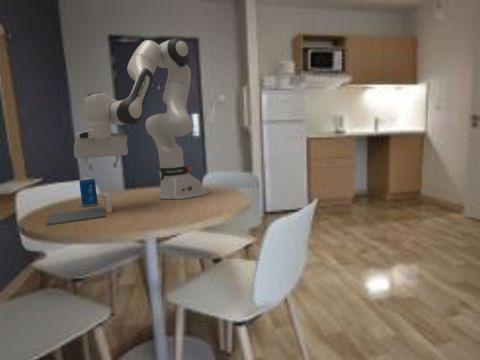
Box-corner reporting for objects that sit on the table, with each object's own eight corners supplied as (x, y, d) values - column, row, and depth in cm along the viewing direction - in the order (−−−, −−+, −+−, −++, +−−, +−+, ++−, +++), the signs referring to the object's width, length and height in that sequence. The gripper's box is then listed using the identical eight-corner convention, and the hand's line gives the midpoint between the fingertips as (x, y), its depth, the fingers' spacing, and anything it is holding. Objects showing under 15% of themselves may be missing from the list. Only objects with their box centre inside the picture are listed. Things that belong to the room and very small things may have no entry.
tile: (109, 208, 152) (108, 192, 151) (112, 212, 145) (110, 195, 144) (104, 209, 152) (102, 193, 150) (106, 213, 144) (104, 196, 143)
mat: (101, 208, 154) (101, 206, 154) (105, 217, 138) (105, 215, 138) (48, 215, 145) (48, 214, 145) (46, 225, 129) (46, 223, 129)
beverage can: (84, 207, 157) (81, 180, 156) (80, 205, 162) (77, 179, 161) (99, 204, 161) (96, 178, 160) (95, 202, 166) (92, 177, 165)
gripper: (125, 132, 151) (128, 165, 153) (71, 134, 142) (75, 169, 144) (127, 132, 145) (130, 166, 147) (71, 134, 137) (76, 171, 139)
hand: (103, 168), depth 146 cm, fingers open, 8 cm apart
